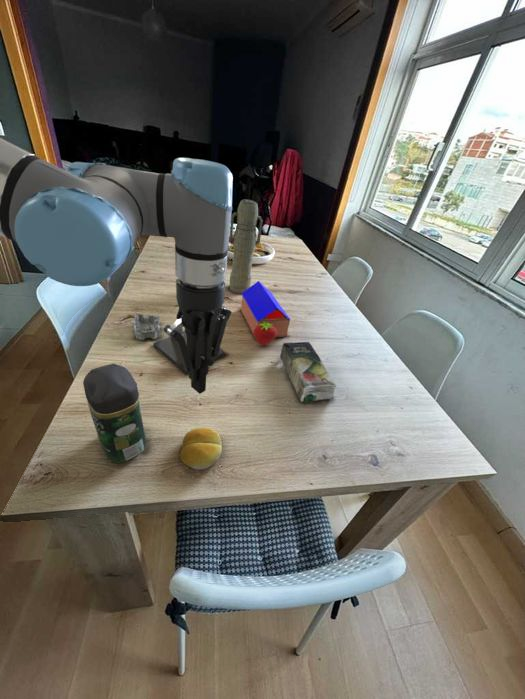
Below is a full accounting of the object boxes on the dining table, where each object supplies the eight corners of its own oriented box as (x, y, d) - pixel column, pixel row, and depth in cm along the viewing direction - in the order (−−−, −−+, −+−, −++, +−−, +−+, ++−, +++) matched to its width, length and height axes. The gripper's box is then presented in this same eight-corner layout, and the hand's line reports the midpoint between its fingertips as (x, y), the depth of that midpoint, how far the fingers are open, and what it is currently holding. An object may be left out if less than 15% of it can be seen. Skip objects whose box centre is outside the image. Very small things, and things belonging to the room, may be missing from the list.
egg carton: (135, 322, 95) (134, 311, 93) (160, 321, 98) (159, 311, 95) (134, 341, 87) (132, 329, 85) (160, 340, 90) (159, 328, 87)
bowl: (284, 261, 164) (286, 247, 159) (245, 270, 144) (247, 254, 140) (247, 244, 178) (248, 230, 174) (207, 250, 159) (208, 235, 154)
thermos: (255, 294, 125) (268, 205, 104) (227, 293, 121) (235, 201, 101) (250, 285, 131) (261, 200, 111) (224, 284, 128) (231, 196, 107)
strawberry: (276, 351, 94) (282, 325, 88) (253, 351, 92) (257, 325, 86) (271, 340, 99) (276, 314, 93) (249, 340, 96) (253, 314, 91)
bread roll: (178, 471, 57) (177, 459, 55) (185, 433, 64) (184, 421, 62) (220, 472, 58) (221, 460, 56) (222, 434, 66) (223, 423, 63)
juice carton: (334, 401, 79) (341, 385, 76) (301, 405, 76) (306, 388, 73) (306, 356, 94) (311, 340, 91) (278, 358, 92) (281, 342, 88)
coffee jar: (95, 435, 61) (75, 368, 50) (134, 419, 65) (123, 354, 54) (110, 471, 55) (90, 404, 44) (151, 452, 60) (143, 386, 49)
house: (254, 338, 98) (259, 308, 91) (239, 309, 113) (243, 280, 106) (287, 336, 102) (294, 307, 95) (268, 308, 117) (273, 280, 110)
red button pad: (152, 346, 87) (151, 338, 85) (192, 331, 96) (192, 323, 94) (185, 375, 79) (185, 366, 77) (225, 355, 89) (225, 347, 87)
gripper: (181, 299, 39) (183, 416, 53) (247, 278, 48) (234, 383, 62) (149, 279, 42) (158, 394, 56) (216, 263, 51) (210, 365, 65)
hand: (198, 388), depth 59 cm, fingers closed
